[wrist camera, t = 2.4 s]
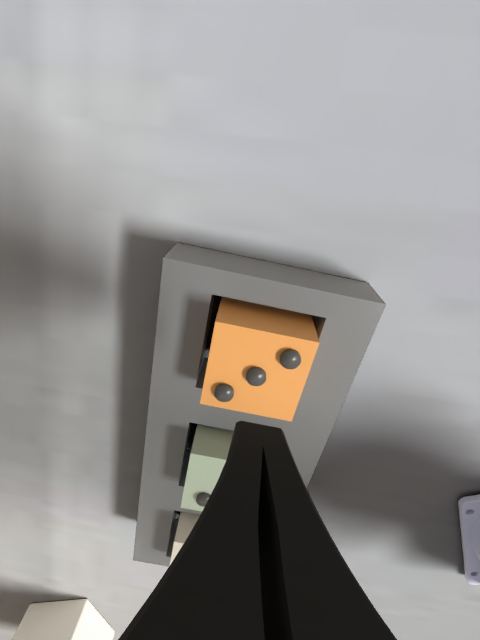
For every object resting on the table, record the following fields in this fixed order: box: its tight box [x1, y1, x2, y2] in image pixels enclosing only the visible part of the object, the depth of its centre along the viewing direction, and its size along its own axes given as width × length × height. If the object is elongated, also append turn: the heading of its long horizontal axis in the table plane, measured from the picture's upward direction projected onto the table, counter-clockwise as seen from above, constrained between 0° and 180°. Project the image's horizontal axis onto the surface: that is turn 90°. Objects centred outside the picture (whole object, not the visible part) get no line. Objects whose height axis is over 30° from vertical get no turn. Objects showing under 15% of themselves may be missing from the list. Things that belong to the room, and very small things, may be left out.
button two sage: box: [180, 424, 234, 511], centre depth 18 cm, size 4×4×3 cm
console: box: [133, 242, 386, 566], centre depth 19 cm, size 21×9×2 cm, turn 169°
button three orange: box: [200, 297, 320, 422], centre depth 15 cm, size 4×4×3 cm
